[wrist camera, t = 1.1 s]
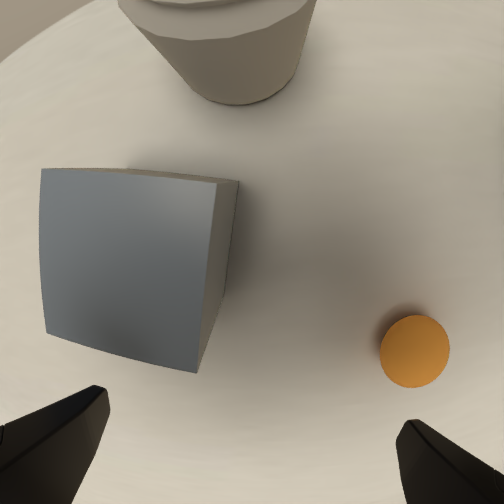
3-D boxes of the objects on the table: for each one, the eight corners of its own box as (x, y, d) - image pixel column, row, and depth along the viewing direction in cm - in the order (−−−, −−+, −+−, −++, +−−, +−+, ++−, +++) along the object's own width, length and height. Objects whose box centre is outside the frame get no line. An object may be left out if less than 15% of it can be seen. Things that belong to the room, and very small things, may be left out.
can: (171, 102, 18) (64, 28, 6) (194, 6, 16) (137, -109, 4) (289, 117, 18) (323, 32, 6) (305, 17, 16) (337, -108, 4)
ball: (438, 306, 20) (473, 336, 15) (417, 364, 21) (443, 400, 17) (382, 300, 20) (410, 333, 15) (362, 361, 21) (382, 403, 17)
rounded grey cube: (239, 181, 19) (217, 183, 10) (223, 296, 21) (196, 373, 12) (126, 168, 19) (41, 168, 10) (118, 277, 21) (46, 333, 12)
